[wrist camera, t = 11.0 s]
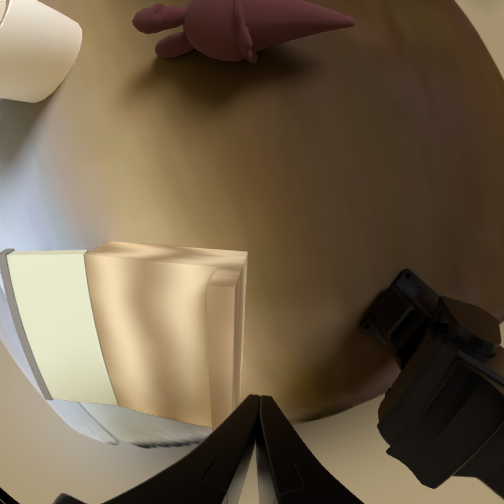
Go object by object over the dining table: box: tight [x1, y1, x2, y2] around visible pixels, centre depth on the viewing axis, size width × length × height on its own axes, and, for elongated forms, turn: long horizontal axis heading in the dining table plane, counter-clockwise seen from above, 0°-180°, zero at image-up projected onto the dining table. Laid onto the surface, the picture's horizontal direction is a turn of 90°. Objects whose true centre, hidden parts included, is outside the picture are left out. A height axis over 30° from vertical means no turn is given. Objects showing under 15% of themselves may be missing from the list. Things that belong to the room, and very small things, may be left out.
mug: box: [0, 0, 82, 103], centre depth 13 cm, size 14×10×11 cm
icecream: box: [132, 0, 355, 64], centre depth 14 cm, size 7×7×15 cm
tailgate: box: [0, 249, 118, 405], centre depth 20 cm, size 2×16×9 cm
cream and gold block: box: [84, 242, 248, 432], centre depth 21 cm, size 12×16×7 cm
